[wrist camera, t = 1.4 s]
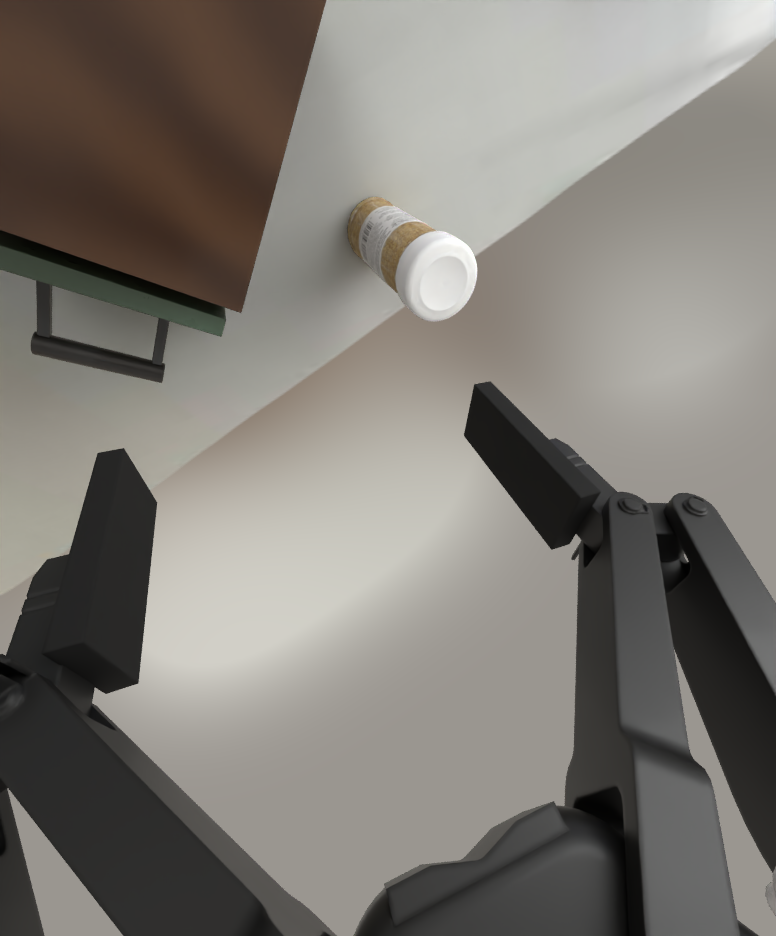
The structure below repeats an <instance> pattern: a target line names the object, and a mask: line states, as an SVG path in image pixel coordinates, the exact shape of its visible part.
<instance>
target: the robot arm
mask: <svg viewBox="0 0 776 936" xmlns="http://www.w3.org/2000/svg"><path fill="white" fill-rule="evenodd" d="M464 436H465V438H466V439H467V440H468V442H469V443H470V444H471V445H472V447H473V448H474V449H475V451H476V452H477V453H478V455H479V456H480V457H481V458H482V460H483V461H484V462H485V464H486V465H487V466H488V467H489V469H490V470H491V471H492V473H493V474H494V475H495V477H496V478H497V479H498V480H499V482H500V483H501V484H502V486H503V487H504V488H505V490H506V491H507V492H508V494H509V495H510V496H511V497H512V499H513V500H514V501H515V503H516V504H517V505H518V507H519V508H520V509H521V511H522V512H523V513H524V514H525V516H526V517H527V518H528V520H529V521H530V522H531V524H532V525H533V526H534V527H535V529H536V530H537V531H538V533H539V534H540V535H541V536H542V538H543V539H544V541H545V542H546V543H547V544H548V546H549V547H550V548H551V549H555V548H558V547H562V546H565V545H568V544H570V542H571V541H572V539H573V537H574V536H575V534H577V535H578V536H579V537H580V539H581V540H582V541H581V543H580V544H579V545H578V547H577V549H576V550H575V552H574V553H573V555H572V560H575V559H576V557H577V556H578V554H579V565H578V605H577V647H576V686H575V726H574V751H573V756H572V759H571V762H570V765H569V767H568V771H567V776H566V786H565V806H556V805H555V803H554V802H550V803H548V804H544V805H541V806H539V807H536V808H533V809H530V810H527V811H524V812H522V813H520V814H518V815H516V816H514V817H512V818H510V819H508V820H506V821H505V822H503V823H501V824H499V825H497V826H495V827H493V828H492V829H490V830H489V832H488V833H487V834H486V835H485V836H484V837H483V838H482V839H481V840H480V841H479V842H478V843H477V845H476V846H475V847H474V848H473V849H472V850H471V851H470V852H469V853H468V854H467V855H466V857H464V858H463V859H462V860H459V861H451V862H442V863H433V864H425V865H419V866H418V867H416V868H414V869H412V870H410V871H408V872H406V873H404V874H402V875H400V876H398V877H397V878H394V879H392V880H390V881H389V882H387V883H385V884H384V885H385V888H384V889H383V890H382V891H381V892H380V893H379V895H377V897H376V898H375V899H374V900H373V902H372V903H371V904H370V906H369V907H368V908H367V910H366V912H365V914H364V915H363V917H362V919H361V921H360V923H359V925H358V927H357V929H356V932H355V934H354V936H758V935H757V934H755V933H754V932H753V931H752V930H750V929H749V928H747V927H746V926H745V925H744V924H742V923H741V922H740V921H738V920H737V917H736V911H735V905H734V900H733V894H732V889H731V883H730V878H729V872H728V867H727V861H726V855H725V850H724V844H723V839H722V833H721V827H720V822H719V816H718V811H717V805H716V800H715V794H714V790H713V787H712V783H711V780H710V778H709V776H708V774H707V773H706V771H705V769H704V768H703V767H702V766H700V765H699V764H698V763H697V762H696V761H695V760H694V759H693V757H692V756H691V753H690V750H689V746H688V739H687V732H686V726H685V719H684V713H683V706H682V699H681V694H680V687H679V680H678V673H677V667H676V660H675V654H674V649H675V652H676V654H677V657H678V659H679V662H680V664H681V667H682V669H683V672H684V674H685V677H686V679H687V682H688V684H689V687H690V690H691V692H692V695H693V697H694V700H695V702H696V704H697V707H698V710H699V712H700V715H701V717H702V719H703V722H704V725H705V727H706V729H707V732H708V735H709V737H710V739H711V742H712V745H713V747H714V749H715V752H716V755H717V757H718V760H719V762H720V765H721V767H722V769H723V772H724V775H725V777H726V780H727V782H728V785H729V787H730V790H731V792H732V795H733V797H734V799H735V802H736V804H737V806H738V808H739V811H740V813H741V815H742V817H743V820H744V822H745V824H746V826H747V828H748V830H749V832H750V833H751V835H752V837H753V839H754V841H755V843H756V845H757V847H758V849H759V851H760V852H761V854H762V856H763V858H764V859H765V861H766V863H767V864H768V866H769V868H770V869H771V871H772V873H773V883H772V882H770V883H769V884H768V885H767V886H766V898H767V901H768V904H769V906H770V908H771V910H772V911H773V913H774V915H775V916H776V603H775V601H774V600H773V598H772V597H771V595H770V593H769V592H768V590H767V589H766V587H765V586H764V584H763V583H762V581H761V579H760V578H759V577H758V575H757V573H756V571H755V570H754V568H753V567H752V565H751V564H750V562H749V560H748V559H747V558H746V556H745V554H744V553H743V551H742V550H741V548H740V546H739V545H738V543H737V542H736V540H735V538H734V537H733V535H732V534H731V532H730V531H729V529H728V527H727V526H726V524H725V523H724V521H723V520H722V518H721V517H720V515H719V513H718V512H717V510H716V509H715V508H714V507H713V506H712V504H710V503H709V502H707V501H706V500H704V499H703V498H701V497H698V496H696V495H693V494H689V493H679V494H677V495H675V496H673V498H672V499H671V500H670V501H669V503H646V502H645V501H644V500H643V499H641V498H640V497H638V496H636V495H633V494H630V493H627V492H617V491H616V490H615V489H614V488H613V487H612V486H610V485H609V484H608V483H607V482H606V481H605V480H604V479H603V478H602V477H601V476H600V475H599V474H598V473H597V472H596V471H595V470H594V469H593V468H592V467H591V466H590V465H588V464H586V462H585V461H584V460H583V459H582V458H581V457H579V456H578V454H577V453H576V452H575V451H574V450H573V449H572V448H571V447H570V446H568V445H567V444H565V443H563V442H561V441H560V440H558V439H556V438H555V439H551V440H549V439H548V438H547V437H545V435H543V433H542V432H541V431H540V430H539V429H538V428H537V427H535V426H534V424H532V422H531V421H530V420H529V419H528V418H527V417H526V416H525V415H524V414H522V413H521V411H519V410H518V408H517V407H515V406H514V404H512V402H510V400H509V399H508V398H506V396H504V395H503V394H502V393H501V392H500V391H499V390H498V389H497V388H496V387H495V386H494V385H493V384H492V383H491V382H485V383H479V384H475V385H474V389H473V394H472V399H471V404H470V408H469V413H468V418H467V423H466V428H465V433H464ZM156 508H157V502H156V500H155V498H154V497H153V495H152V493H151V492H150V490H149V489H148V487H147V485H146V484H145V482H144V480H143V479H142V477H141V475H140V474H139V472H138V471H137V469H136V467H135V466H134V464H133V462H132V461H131V459H130V457H129V456H128V454H127V453H126V451H125V449H124V448H123V449H117V450H112V451H106V452H101V453H98V454H97V457H96V461H95V464H94V468H93V472H92V475H91V479H90V482H89V486H88V489H87V493H86V496H85V500H84V503H83V507H82V511H81V514H80V518H79V521H78V525H77V528H76V532H75V535H74V539H73V542H72V546H71V549H70V553H69V554H68V555H64V556H60V557H56V558H51V559H47V560H46V562H45V563H44V564H43V565H42V567H41V568H40V569H39V570H38V572H37V573H36V574H35V576H34V577H33V579H32V582H31V584H30V587H29V590H28V593H27V599H26V600H25V602H24V605H23V608H22V615H20V616H19V620H18V622H17V625H16V628H15V631H14V634H13V637H12V640H11V643H10V646H9V648H8V651H7V654H6V656H5V655H3V654H0V936H44V932H43V928H42V924H41V920H40V916H39V912H38V908H37V904H36V900H35V896H34V893H33V889H32V885H31V881H30V877H29V873H28V869H27V865H26V861H25V857H24V853H23V849H22V845H21V841H20V838H19V834H18V829H17V826H16V822H15V818H14V814H13V810H12V806H11V802H10V798H9V794H8V791H7V788H9V790H10V791H11V792H12V793H13V795H14V796H15V797H16V799H17V800H18V801H19V802H20V804H21V805H22V806H23V807H24V809H25V810H26V811H27V812H28V814H29V815H30V817H31V818H32V819H33V820H34V822H35V823H36V824H37V825H38V827H39V828H40V829H41V830H42V832H43V833H44V834H45V836H46V837H47V838H48V840H49V841H50V842H51V843H52V845H53V846H54V847H55V849H56V850H57V851H58V852H59V854H60V855H61V856H62V858H63V859H64V860H65V861H66V863H67V864H68V865H69V866H70V868H71V869H72V870H73V872H74V873H75V874H76V876H77V877H78V878H79V879H80V881H81V882H82V883H83V884H84V886H85V887H86V888H87V890H88V891H89V892H90V893H91V895H92V896H93V897H94V899H95V900H96V901H97V902H98V904H99V905H100V906H101V907H102V909H103V910H104V911H105V913H106V914H107V915H108V916H109V918H110V919H111V920H112V921H113V923H114V924H115V925H116V927H117V928H118V929H119V931H120V932H121V933H122V934H123V936H336V935H335V934H334V933H333V932H332V931H331V930H330V929H329V928H328V927H327V926H326V925H325V924H324V923H323V922H322V921H321V920H320V919H319V918H318V917H317V916H316V915H315V914H314V913H313V912H312V911H310V910H309V909H308V908H307V907H306V906H305V905H303V904H302V903H301V902H300V901H298V900H297V899H295V898H294V897H292V896H291V895H290V894H288V893H287V892H286V891H285V890H284V889H283V888H282V887H281V886H280V885H279V884H278V883H277V882H276V881H275V880H273V879H272V878H271V877H270V876H269V875H268V874H267V873H266V872H265V871H264V870H263V869H262V868H261V867H260V866H259V865H258V864H257V863H256V862H255V861H254V860H253V859H252V858H251V857H250V856H249V855H248V854H247V853H246V852H245V851H244V850H243V849H242V848H241V847H240V846H239V845H238V844H237V843H236V842H235V841H234V840H233V839H232V838H231V837H230V836H229V835H227V833H226V832H225V831H223V830H222V829H221V828H220V827H219V826H218V825H217V824H216V823H215V822H214V821H213V820H212V819H211V818H210V817H209V816H208V815H207V814H206V813H205V812H204V811H203V810H202V809H201V808H200V807H199V806H198V805H197V804H196V803H195V802H194V801H193V800H192V799H191V798H190V797H189V796H188V795H187V794H186V793H185V792H184V791H183V790H182V789H181V788H179V786H178V785H177V784H176V783H175V782H174V781H173V780H172V779H170V778H169V777H168V776H167V775H166V774H165V773H164V772H163V771H162V770H161V769H160V768H159V767H158V766H157V765H156V764H155V763H154V762H153V761H152V760H151V759H150V758H149V757H148V756H147V755H146V754H145V753H144V752H143V751H142V750H141V749H140V748H139V747H138V746H137V745H136V744H135V743H134V742H133V741H132V740H131V739H130V738H129V737H128V736H127V735H126V734H125V733H124V732H123V731H122V730H120V729H119V728H118V727H117V726H116V725H115V724H114V723H113V722H112V721H111V720H110V719H109V718H108V717H107V716H106V715H105V714H104V713H103V712H102V711H101V710H100V709H99V708H98V707H97V706H96V705H94V704H92V699H93V693H94V688H95V687H96V688H97V689H99V690H100V691H102V692H104V693H105V694H107V693H110V692H113V691H116V690H119V689H122V688H125V687H129V686H131V685H135V684H138V681H139V672H140V662H141V653H142V643H143V633H144V624H145V613H146V605H147V595H148V585H149V576H150V566H151V556H152V547H153V537H154V527H155V517H156ZM684 554H686V556H687V558H688V561H689V562H687V561H686V559H685V558H684Z"/></svg>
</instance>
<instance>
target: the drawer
mask: <svg viewBox="0 0 776 936" xmlns="http://www.w3.org/2000/svg"><path fill="white" fill-rule="evenodd" d="M0 270H4V271H7V272H10V273H14V274H17V275H20V276H23V277H27V278H30V279H33V280H36V294H37V332H34V334H33V336H32V340H31V351H32V353H33V354H35V355H40V356H44V357H49V358H53V359H57V360H62V361H66V362H71V363H75V364H80V365H84V366H88V367H93V368H97V369H102V370H106V371H111V372H115V373H119V374H124V375H128V376H133V377H137V378H142V379H146V380H150V381H155V382H159V383H162V381H163V375H164V369H165V364H164V363H162V361H163V355H164V349H165V344H166V338H167V332H168V326H169V321H171V322H174V323H178V324H181V325H184V326H188V327H191V328H194V329H197V330H201V331H204V332H207V333H211V334H214V335H217V336H220V337H221V336H222V333H223V330H224V326H225V322H226V316H225V307H222V306H219V305H216V304H214V303H211V302H208V301H205V300H202V299H199V298H196V297H193V296H190V295H187V294H185V293H182V292H179V291H176V290H173V289H170V288H167V287H164V286H161V285H158V284H156V283H153V282H150V281H147V280H144V279H141V278H138V277H135V276H132V275H129V274H127V273H124V272H121V271H118V270H115V269H112V268H109V267H106V266H103V265H100V264H98V263H95V262H92V261H89V260H86V259H83V258H80V257H77V256H74V255H71V254H69V253H66V252H63V251H60V250H57V249H54V248H51V247H48V246H45V245H42V244H40V243H37V242H34V241H31V240H28V239H25V238H22V237H19V236H16V235H13V234H11V233H8V232H5V231H2V230H0ZM52 285H53V286H56V287H60V288H63V289H66V290H69V291H73V292H76V293H79V294H83V295H86V296H89V297H92V298H96V299H99V300H102V301H106V302H109V303H112V304H115V305H119V306H122V307H125V308H129V309H132V310H135V311H138V312H142V313H145V314H148V315H152V316H155V317H158V318H159V320H158V327H157V333H156V339H155V346H154V352H153V358H152V360H148V359H144V358H140V357H136V356H132V355H128V354H124V353H120V352H116V351H112V350H108V349H104V348H100V347H96V346H92V345H88V344H84V343H80V342H77V341H73V340H69V339H65V338H61V337H57V336H53V335H52Z"/></svg>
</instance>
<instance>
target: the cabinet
mask: <svg viewBox="0 0 776 936" xmlns="http://www.w3.org/2000/svg"><path fill="white" fill-rule="evenodd" d="M325 3H326V0H0V230H2V231H5V232H8V233H11V234H13V235H16V236H19V237H22V238H25V239H28V240H31V241H34V242H37V243H40V244H42V245H45V246H48V247H51V248H54V249H57V250H60V251H63V252H66V253H69V254H71V255H74V256H77V257H80V258H83V259H86V260H89V261H92V262H95V263H98V264H100V265H103V266H106V267H109V268H112V269H115V270H118V271H121V272H124V273H127V274H129V275H132V276H135V277H138V278H141V279H144V280H147V281H150V282H153V283H156V284H158V285H161V286H164V287H167V288H170V289H173V290H176V291H179V292H182V293H185V294H187V295H190V296H193V297H196V298H199V299H202V300H205V301H208V302H211V303H214V304H216V305H219V306H222V307H225V308H228V309H231V310H234V311H237V312H240V313H241V312H242V308H243V305H244V301H245V297H246V294H247V290H248V286H249V283H250V279H251V275H252V271H253V268H254V264H255V260H256V257H257V253H258V249H259V246H260V242H261V238H262V235H263V231H264V227H265V224H266V220H267V216H268V213H269V209H270V205H271V202H272V198H273V194H274V191H275V187H276V183H277V180H278V176H279V172H280V168H281V165H282V161H283V157H284V154H285V150H286V146H287V143H288V139H289V135H290V132H291V128H292V124H293V121H294V117H295V113H296V110H297V106H298V102H299V99H300V95H301V91H302V88H303V84H304V80H305V76H306V73H307V69H308V65H309V62H310V58H311V54H312V51H313V47H314V43H315V40H316V36H317V32H318V29H319V25H320V21H321V18H322V14H323V10H324V7H325Z"/></svg>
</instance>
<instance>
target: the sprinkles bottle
mask: <svg viewBox="0 0 776 936" xmlns="http://www.w3.org/2000/svg"><path fill="white" fill-rule="evenodd" d="M348 239H349V242H350V245H351V247H352V249H353V251H354V252H355V253H356V254H357V255H358V256H359V257H360V258H361V259H363V260H364V261H365V262H366V263H367V264H368V266H369V267H370V268H371V269H372V270H373V271H374V272H375V273H376V274H377V275H378V276H379V277H380V278H381V279H382V280H383V281H384V282H385V283H386V284H388V285H389V286H390V287H391V288H392V289H394V290H395V292H397V293H398V295H399V297H400V299H401V300H402V302H403V303H404V304H405V305H406V306H407V307H408V308H409V309H410V310H411V311H412V312H413V313H414V314H415V315H417V316H418V317H419V318H421V319H423V320H427V321H442V320H445V319H448V318H450V317H452V316H453V315H455V314H456V313H457V312H459V311H460V310H461V309H462V308H463V306H465V304H466V303H467V302H468V300H469V298H470V297H471V295H472V292H473V290H474V287H475V283H476V279H477V265H476V260H475V257H474V255H473V253H472V251H471V249H470V248H469V247H468V246H467V245H466V244H465V243H464V242H463V241H461V240H459V239H458V238H456V237H454V236H453V235H451V234H449V233H446V232H443V231H436V230H434V229H433V228H432V227H430V226H429V225H427V224H426V223H424V222H422V221H420V220H419V219H417V218H415V217H413V216H411V215H410V214H408V213H406V212H405V211H403V210H401V209H399V208H397V207H394V206H393V205H392V204H391V203H390V202H388V201H386V200H385V199H383V198H379V197H371V198H368V199H365V200H363V201H362V202H361V203H359V204H358V205H357V206H356V208H355V209H354V210H353V212H352V213H351V216H350V219H349V224H348Z"/></svg>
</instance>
